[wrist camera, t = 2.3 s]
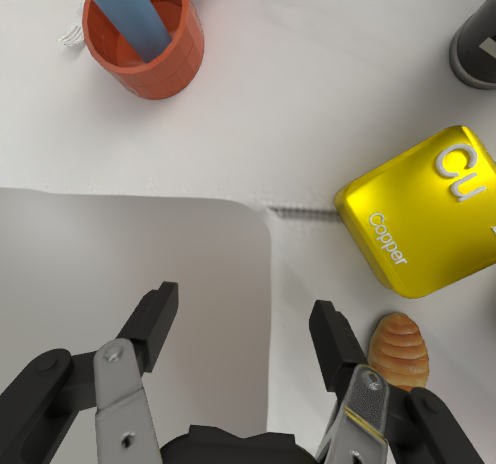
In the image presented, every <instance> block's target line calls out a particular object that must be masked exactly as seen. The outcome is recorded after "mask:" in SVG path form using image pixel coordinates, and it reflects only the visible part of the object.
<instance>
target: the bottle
mask: <svg viewBox="0 0 496 464" xmlns="http://www.w3.org/2000/svg"><path fill="white" fill-rule="evenodd" d="M93 1H94V2H95V3H96V4H97V6H98V7H99V8H100V9H101V10H102V12H103V13H104V14H105V15H106V16H107V18H108V19H109V20H110V21H111V23H112V24H113V25H114V26H115V27H116V29H117V30H118V31H119V32H120V33H121V35H122V36H123V37H124V38H125V40H126V41H127V42H128V43H129V44H130V46H131V47H132V48H133V49H134V50H135V52H136V53H137V54H138V55H139V56H140V58H141V59H142V60H143V61H144V62H145V63H146V64H148V63H149V62H151V61H152V60H154V59H155V58H157V57H158V56H159V55H161V54H162V53H163V52H164V50H165V49H166V48H167V47H168V45H169V44H170V43H171V42H172V39H171V36H170V34H169V33H168V31H167V29H166V27H165V26H164V24H163V22H162V20H161V19H160V17H159V15H158V13H157V12H156V10H155V8H154V6H153V5H152V3H151V1H150V0H93Z"/></svg>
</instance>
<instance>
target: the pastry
mask: <svg viewBox="0 0 496 464" xmlns="http://www.w3.org/2000/svg"><path fill="white" fill-rule="evenodd" d="M367 361H368V363H369V365H370V366H371V367H373V368H375V369H376V370H377V371H379V372H380V373H381V374H382V375H383V377H384V378H385V379H386V381H387V382H388V383H390V384H392V385H394V386H397V387H399V388H401V389H404V390H406V391H408V392H410V391H411V389H412V388H414V387H423V388H425V385H426V382H427V380H428V376H429V365H428V362H429V358H428V354H427V348H426V346H425V342H424V340H423V339H422V336H421V334H420V331H419V327H418V325H417V324H416V323H415V322H414V321H412V320H411V319H410V318H409V317H408V316H407V315H406V314H404V313H391V314H388V315H386V316H384V317H383V318H382V319H381V320H380V322H379V325H378V326H377V329H376V331H375V332H374V334H373V335H372V337H371V338H370V345H369V351H368V359H367Z"/></svg>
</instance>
